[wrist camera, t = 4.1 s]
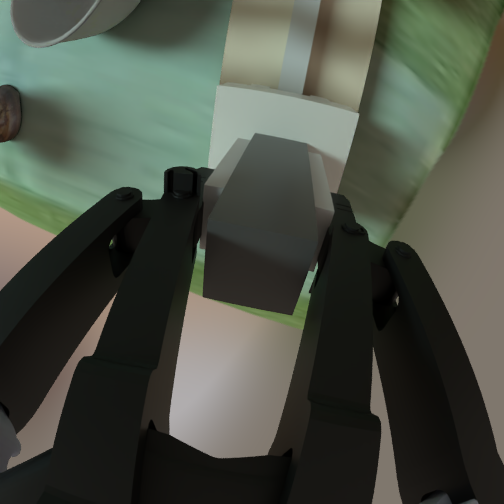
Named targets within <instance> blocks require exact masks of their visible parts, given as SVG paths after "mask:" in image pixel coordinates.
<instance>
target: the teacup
mask: <svg viewBox="0 0 504 504" xmlns="http://www.w3.org/2000/svg"><path fill="white" fill-rule="evenodd" d="M140 1H141V0H12V1H11V10H10V12H11V21H12V25H13V28H14V31H15V33H16V34H17V36H18V37H19V39H20V40H21V41H22V42H23V43H25V44H26V45H28V46H31V47H35V48H42V47H48V46H52V45H55V44H57V43H61V42H67V41H72V40H78V39H82V38H87V37H91V36H95V35H97V34H100V33H103V32H105V31H107V30H109V29H111V28H112V27H114V26H116V25H117V24H119V23H120V22H121V21H122V20H124V19H125V18H126V17H127V16H128V15H129V14H130V13H131V12H132V11H133V10H134V9H135V8H136V6H137V5H138V4H139V3H140Z"/></svg>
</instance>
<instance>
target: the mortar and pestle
mask: <svg viewBox="0 0 504 504" xmlns="http://www.w3.org/2000/svg"><path fill="white" fill-rule="evenodd" d="M20 123H21V108H20V99H19V92H18V91H16V90H15V89H14V88H13V87H11V86H8V85H2V86H0V143H1V142H6V141H9V140H11V139H13V138H14V137H15V136H16V135H17V133H18V131H19V128H20Z"/></svg>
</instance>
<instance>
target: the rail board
mask: <svg viewBox="0 0 504 504" xmlns="http://www.w3.org/2000/svg"><path fill="white" fill-rule="evenodd" d="M381 3H382V0H233V3H232V8H231V14H230V20H229V26H228V32H227V38H226V44H225V50H224V57H223V63H222V70H221V77H220V84H224V83H228V82H231V83H239V84H246V85H251V84H257V85H263V86H269V87H270V88H271V89H277V90H282V91H287V92H292V93H297V94H302V95H306V96H310V95H313V96H318V97H322V98H326V99H328V100H329V101H331V102H335V103H338V104H342V105H346V106H349V107H351V108H352V109H354V110H355V111H356V112H358V109H359V105H360V101H361V97H362V93H363V89H364V85H365V81H366V76H367V72H368V68H369V63H370V59H371V54H372V49H373V45H374V40H375V35H376V30H377V25H378V19H379V14H380V8H381Z"/></svg>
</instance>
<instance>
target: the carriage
mask: <svg viewBox="0 0 504 504" xmlns="http://www.w3.org/2000/svg"><path fill="white" fill-rule="evenodd" d="M358 118H359V113H358V112H356V111H355V110H354V109H352V108H351V107H349V106H346V105H342V104H338V103H335V102H331V101H329V100H328V99H326V98H322V97H318V96H313V95H310V96H306V95H302V94H297V93H292V92H287V91H282V90H277V89H271V88H270V87H269V86H263V85H257V84H251V85H246V84H239V83H231V82H228V83H224V84H220V85H217V92H216V100H215V108H214V116H213V125H212V134H211V143H210V152H209V163H208V168H210V169H215V168H216V167H217V166H218V164H219V163H220V162H221V160H222V159H223V157H224V156H225V155H226V153H227V152H228V151H229V149H230V148H231V147H232V145H233V144H234V143H235V141H236V140H237V139H238V138H242V139H248V140H251V141H250V142H249V144H248V146H247V148H246V149H245V151H244V153H243V155H242V156H241V158H240V160H239V162H238V164H237V165H236V167H235V169H234V171H233V173H232V175H231V176H230V178H229V180H228V182H227V184H226V186H225V187H224V189H223V191H222V193H221V195H220V197H219V199H218V201H217V202H216V204H215V206H214V208H213V210H212V212H211V214H210V216H209V218H208V223H207V236H206V250H205V265H204V282H203V297H205V298H209V299H214V300H218V301H223V302H227V303H232V304H237V305H242V306H246V307H251V308H256V309H261V310H266V311H272V312H277V313H282V314H288V315H292V314H293V312H294V309H295V306H296V304H297V301H298V298H299V296H300V293H301V290H302V287H303V285H304V282H305V279H306V276H307V274H308V271H309V268H310V265H311V262H312V259H313V256H314V254H315V251H316V248H317V245H318V242H319V241H318V231H317V220H316V211H315V202H314V193H313V185H312V176H311V169H310V161H309V154H308V152H311V153H315V154H320V155H321V157H322V161H323V165H324V169H325V173H326V177H327V181H328V185H329V189H330V192H332V193H336V194H337V191H338V188H339V185H340V182H341V178H342V175H343V172H344V168H345V165H346V161H347V158H348V155H349V151H350V148H351V144H352V140H353V137H354V133H355V129H356V126H357V122H358Z"/></svg>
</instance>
